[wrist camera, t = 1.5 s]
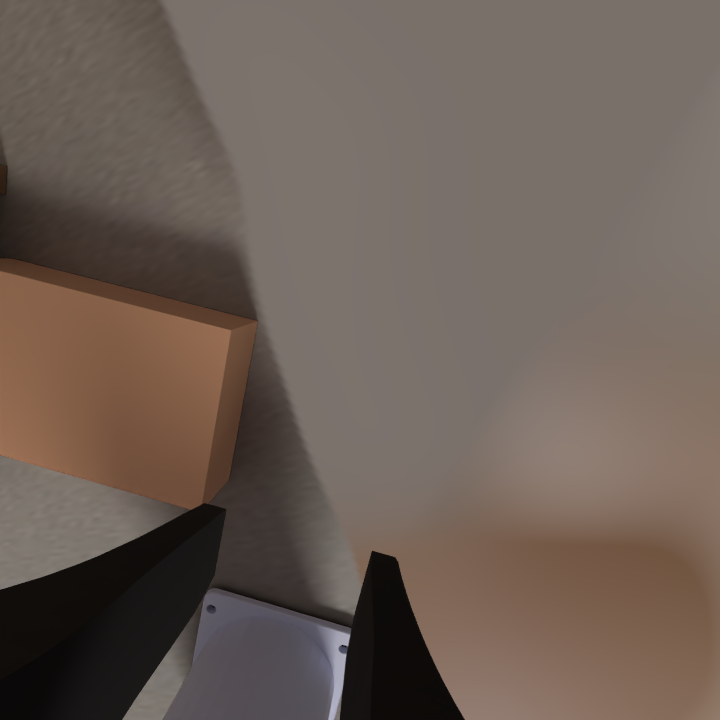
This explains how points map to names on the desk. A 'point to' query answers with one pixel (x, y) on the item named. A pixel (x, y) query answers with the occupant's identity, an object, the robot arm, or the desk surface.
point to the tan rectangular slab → (119, 384)
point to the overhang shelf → (3, 179)
